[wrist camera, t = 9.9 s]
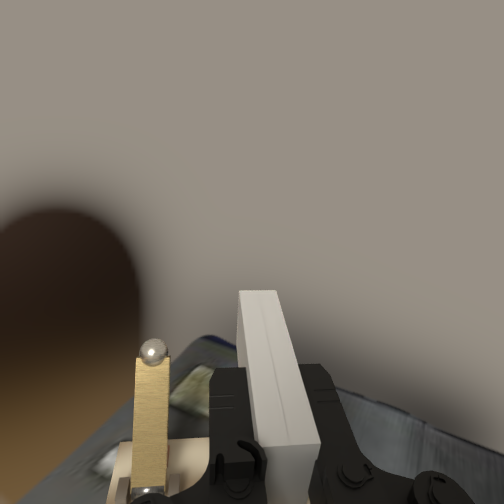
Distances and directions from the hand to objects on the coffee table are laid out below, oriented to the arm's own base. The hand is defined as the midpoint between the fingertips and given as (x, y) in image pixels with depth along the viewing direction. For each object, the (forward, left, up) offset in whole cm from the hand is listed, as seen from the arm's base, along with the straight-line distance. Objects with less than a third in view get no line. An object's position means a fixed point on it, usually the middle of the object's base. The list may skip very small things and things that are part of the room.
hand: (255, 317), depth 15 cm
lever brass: (+11, +4, -27) cm, 30 cm away
